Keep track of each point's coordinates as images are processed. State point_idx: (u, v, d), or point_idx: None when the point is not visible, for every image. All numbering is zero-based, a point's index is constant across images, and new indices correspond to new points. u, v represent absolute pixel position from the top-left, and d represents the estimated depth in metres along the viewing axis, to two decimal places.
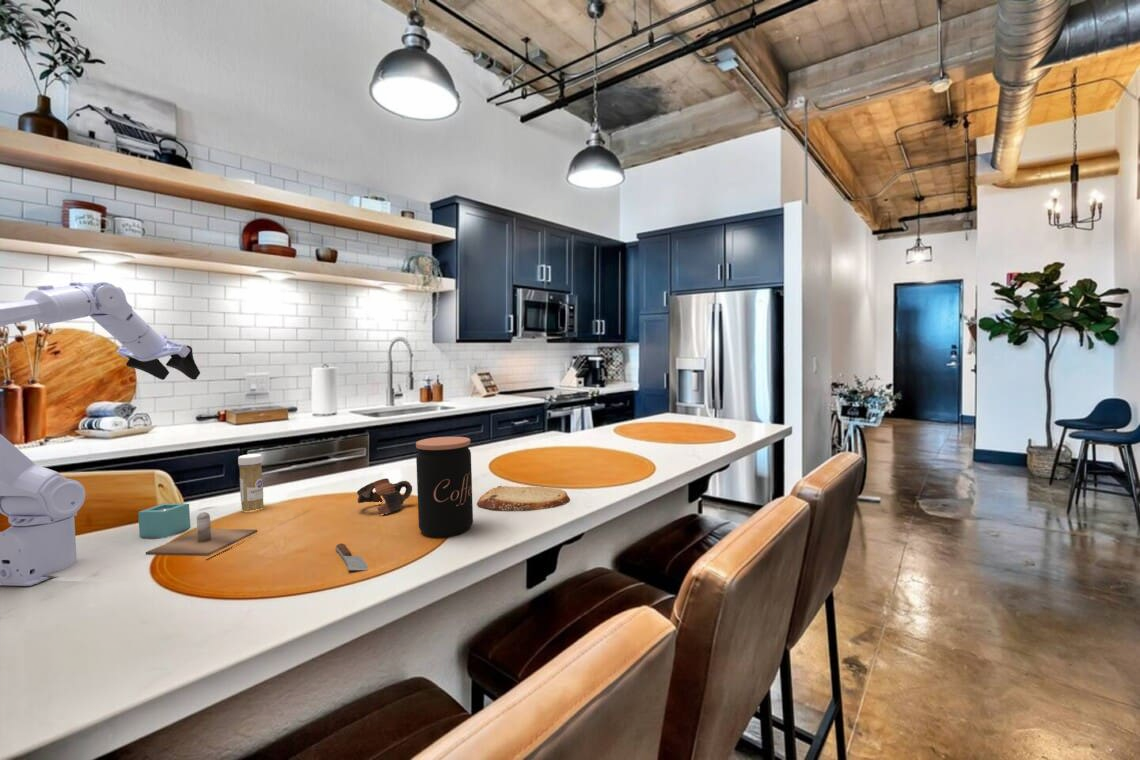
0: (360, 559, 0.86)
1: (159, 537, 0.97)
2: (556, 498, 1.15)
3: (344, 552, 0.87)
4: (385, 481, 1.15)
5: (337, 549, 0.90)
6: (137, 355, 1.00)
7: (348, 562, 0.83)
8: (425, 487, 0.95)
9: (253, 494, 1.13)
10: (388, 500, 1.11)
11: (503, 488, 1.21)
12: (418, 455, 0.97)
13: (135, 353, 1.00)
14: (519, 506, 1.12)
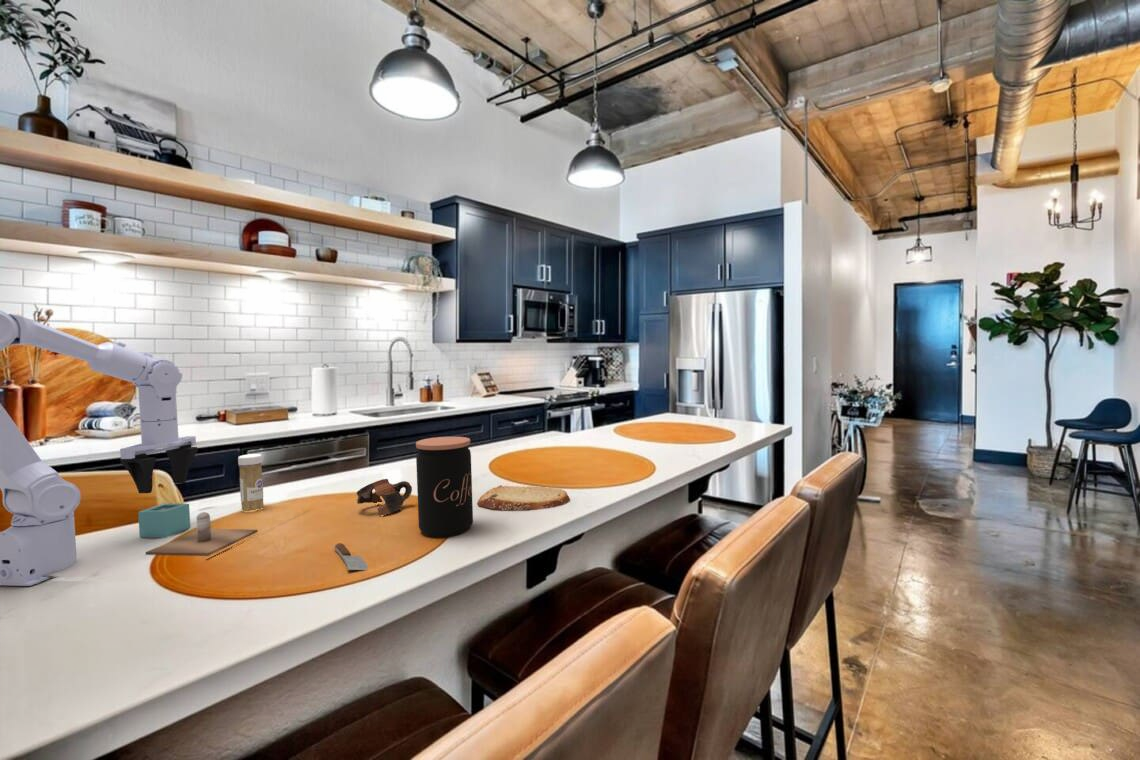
0: (359, 558, 0.86)
1: (159, 537, 0.97)
2: (556, 498, 1.15)
3: (343, 552, 0.87)
4: (385, 482, 1.14)
5: (336, 549, 0.89)
6: None
7: (347, 562, 0.83)
8: (425, 487, 0.95)
9: (253, 494, 1.13)
10: (387, 500, 1.11)
11: (503, 488, 1.21)
12: (418, 455, 0.97)
13: None
14: (519, 506, 1.12)
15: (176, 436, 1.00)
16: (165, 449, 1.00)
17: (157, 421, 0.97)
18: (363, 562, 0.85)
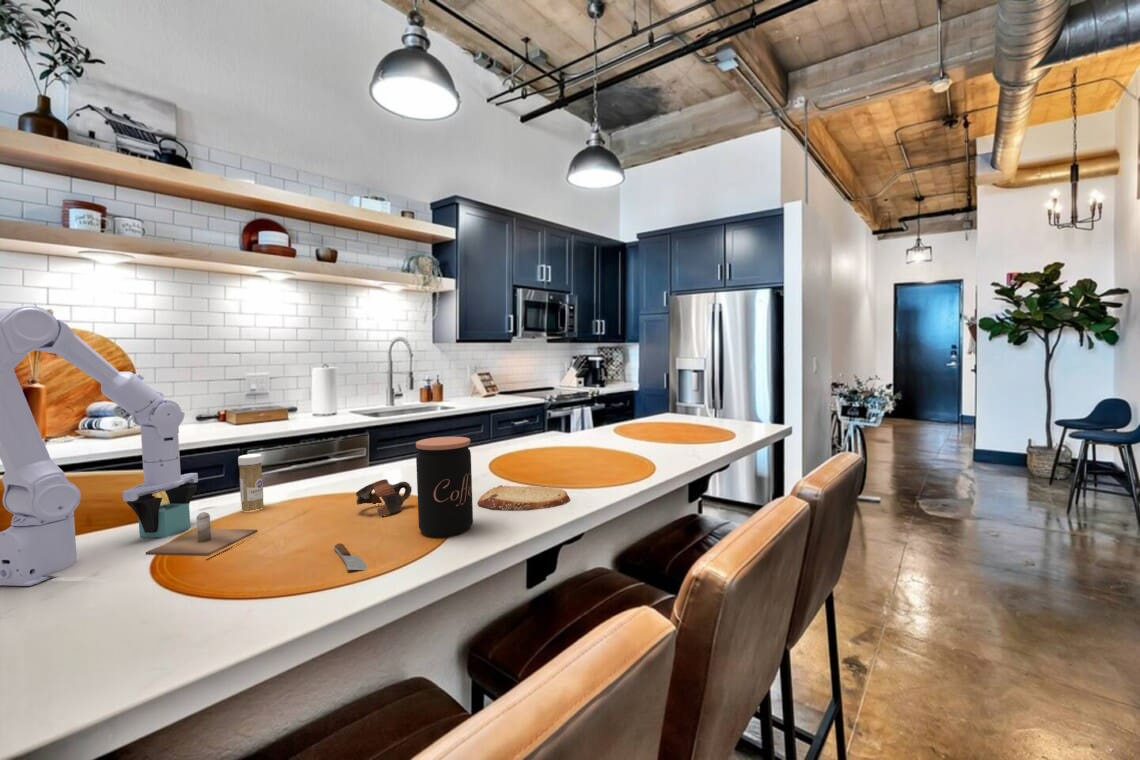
0: (358, 558, 0.86)
1: (159, 537, 0.97)
2: (556, 498, 1.16)
3: (343, 552, 0.87)
4: (384, 482, 1.14)
5: (336, 549, 0.90)
6: None
7: (347, 562, 0.83)
8: (424, 487, 0.95)
9: (253, 494, 1.13)
10: (387, 501, 1.10)
11: (503, 488, 1.22)
12: (418, 455, 0.97)
13: None
14: (519, 506, 1.12)
15: (178, 475, 1.00)
16: (167, 488, 1.00)
17: (159, 461, 0.97)
18: (363, 562, 0.85)
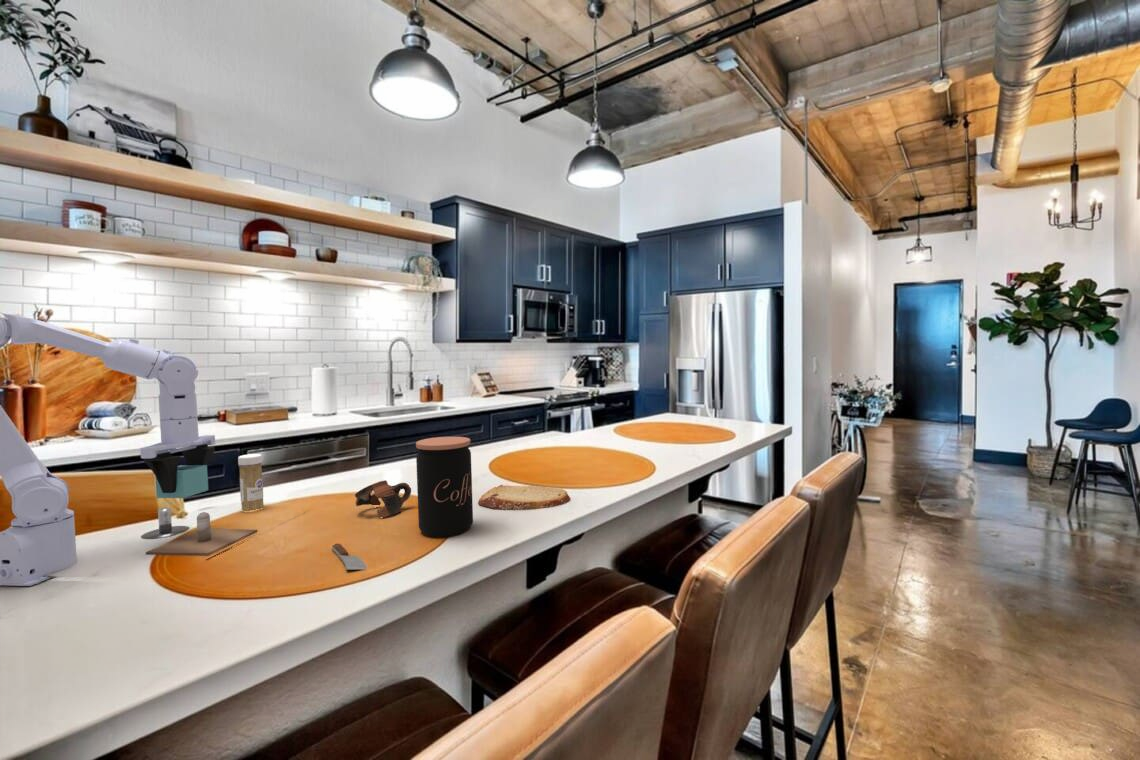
0: (357, 558, 0.86)
1: (159, 537, 0.97)
2: (556, 498, 1.16)
3: (341, 552, 0.87)
4: (384, 483, 1.12)
5: (333, 549, 0.89)
6: None
7: (346, 561, 0.83)
8: (425, 487, 0.95)
9: (253, 494, 1.13)
10: (387, 502, 1.09)
11: (504, 487, 1.22)
12: (418, 455, 0.97)
13: None
14: (519, 505, 1.12)
15: (196, 435, 0.97)
16: (185, 448, 0.97)
17: (177, 419, 0.94)
18: (361, 562, 0.85)
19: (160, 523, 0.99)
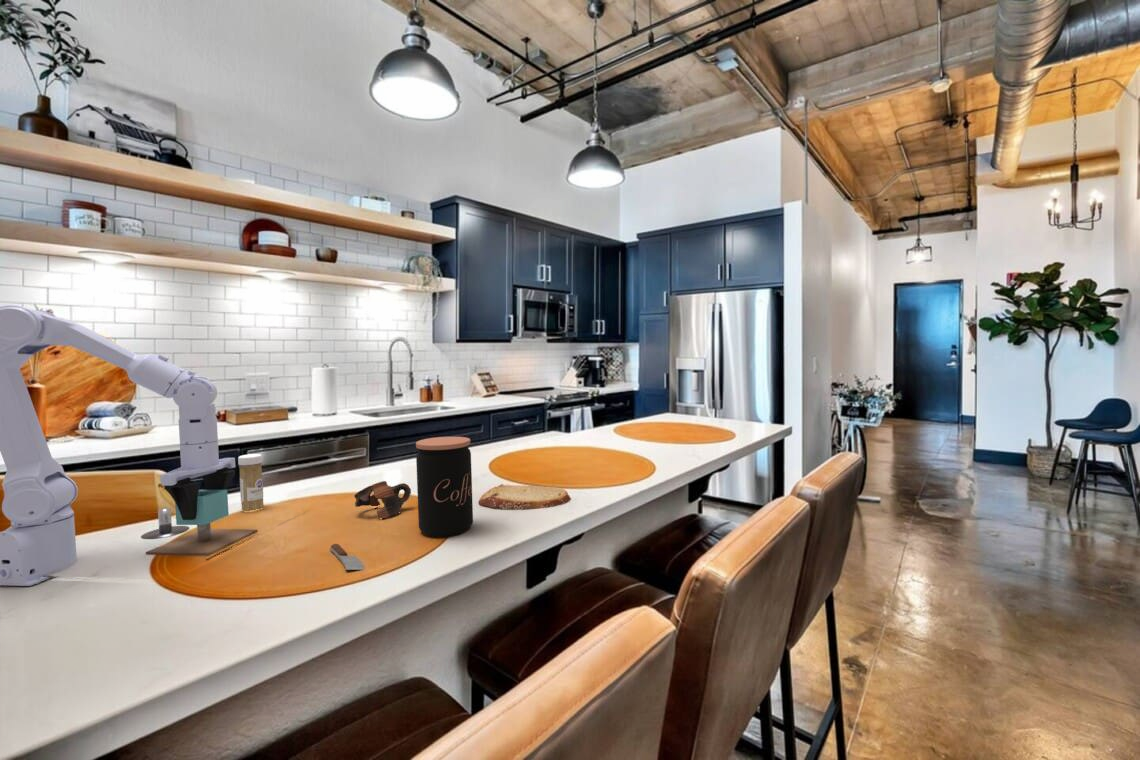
0: (356, 558, 0.86)
1: (159, 537, 0.97)
2: (556, 497, 1.16)
3: (340, 552, 0.87)
4: (383, 484, 1.12)
5: (332, 549, 0.89)
6: None
7: (345, 562, 0.83)
8: (425, 487, 0.95)
9: (253, 494, 1.13)
10: (387, 503, 1.09)
11: (504, 487, 1.22)
12: (418, 455, 0.97)
13: None
14: (519, 505, 1.13)
15: (217, 459, 0.94)
16: (205, 473, 0.94)
17: (198, 444, 0.91)
18: (360, 562, 0.85)
19: (160, 523, 0.99)
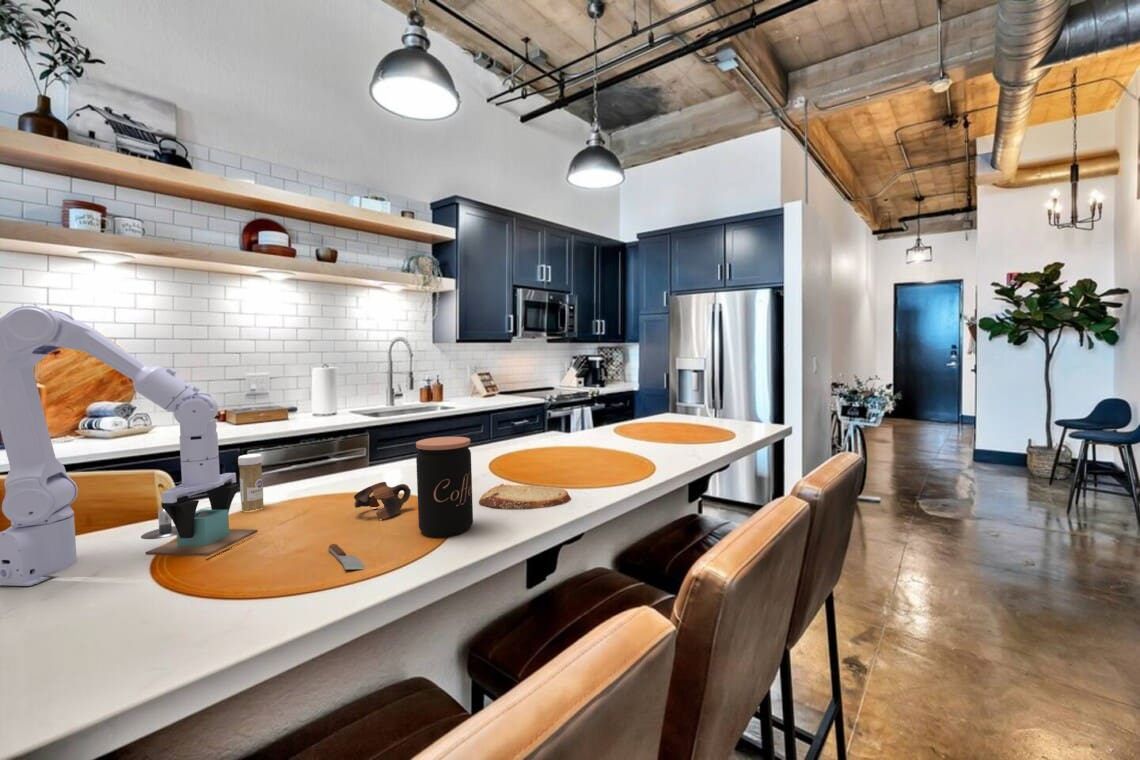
0: (355, 558, 0.86)
1: (159, 537, 0.97)
2: (556, 497, 1.16)
3: (338, 552, 0.87)
4: (383, 485, 1.11)
5: (330, 549, 0.89)
6: None
7: (344, 562, 0.83)
8: (425, 487, 0.95)
9: (253, 494, 1.13)
10: (386, 504, 1.08)
11: (505, 487, 1.23)
12: (418, 455, 0.97)
13: None
14: (519, 504, 1.13)
15: (218, 475, 0.94)
16: (206, 489, 0.94)
17: (199, 460, 0.91)
18: (359, 562, 0.85)
19: (160, 523, 0.99)
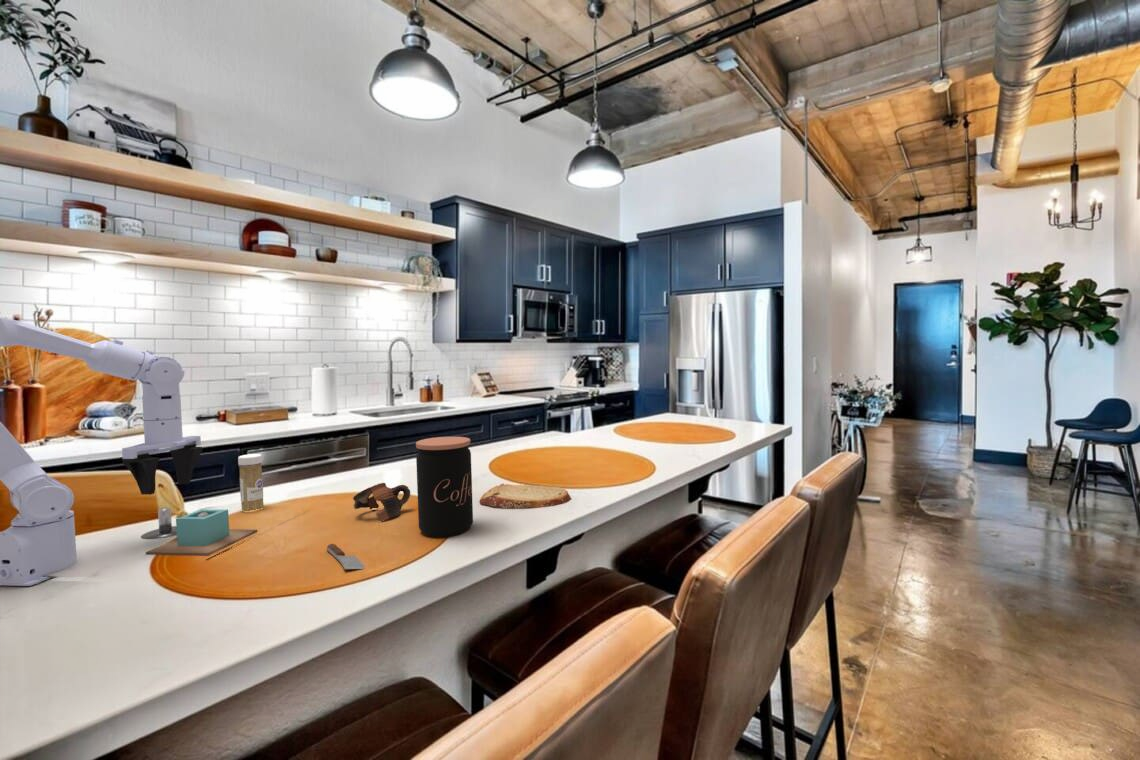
0: (354, 558, 0.86)
1: (159, 537, 0.97)
2: (556, 497, 1.16)
3: (337, 552, 0.87)
4: (382, 486, 1.10)
5: (328, 549, 0.89)
6: None
7: (343, 561, 0.83)
8: (425, 487, 0.95)
9: (253, 494, 1.13)
10: (386, 505, 1.07)
11: (505, 486, 1.23)
12: (418, 455, 0.97)
13: None
14: (519, 504, 1.13)
15: (180, 435, 0.97)
16: (169, 449, 0.97)
17: (160, 420, 0.94)
18: (358, 561, 0.85)
19: (160, 523, 0.99)
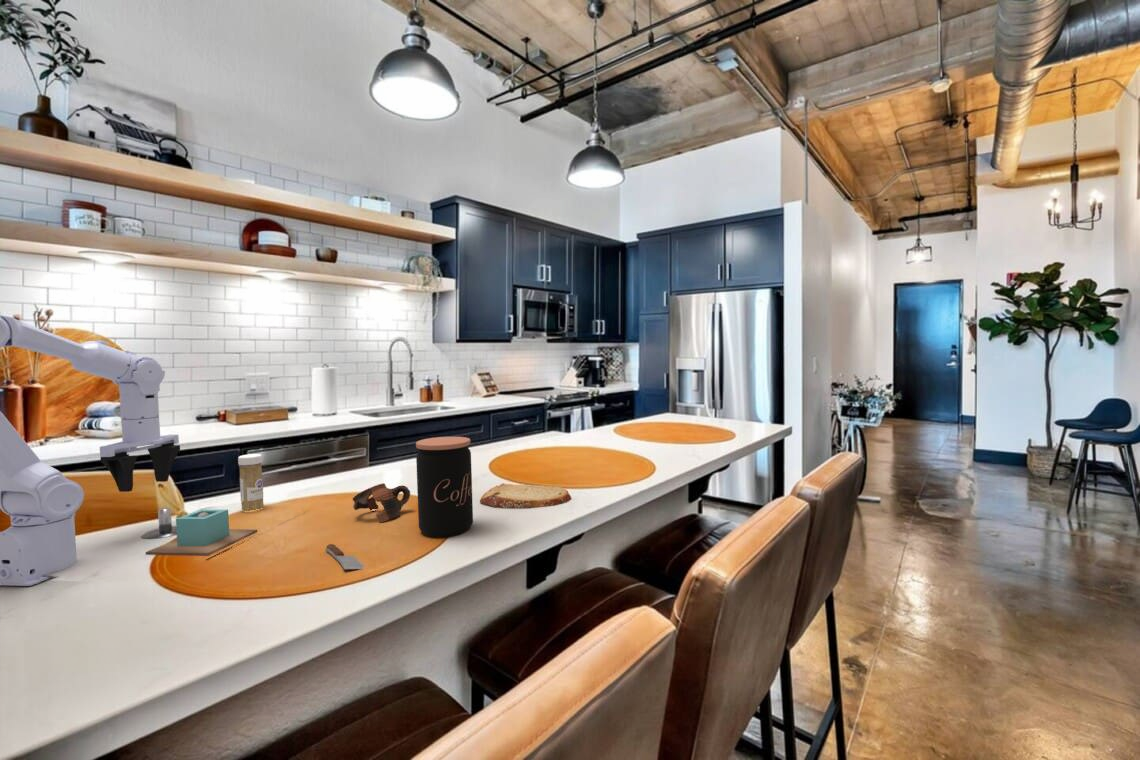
0: (353, 558, 0.86)
1: (159, 537, 0.97)
2: (557, 497, 1.17)
3: (336, 552, 0.87)
4: (382, 486, 1.10)
5: (328, 550, 0.89)
6: None
7: (342, 561, 0.83)
8: (425, 487, 0.95)
9: (253, 494, 1.13)
10: (386, 506, 1.07)
11: (506, 486, 1.23)
12: (418, 455, 0.97)
13: None
14: (519, 503, 1.13)
15: (158, 434, 0.99)
16: (146, 447, 0.99)
17: (138, 419, 0.96)
18: (358, 561, 0.85)
19: (160, 523, 0.99)
